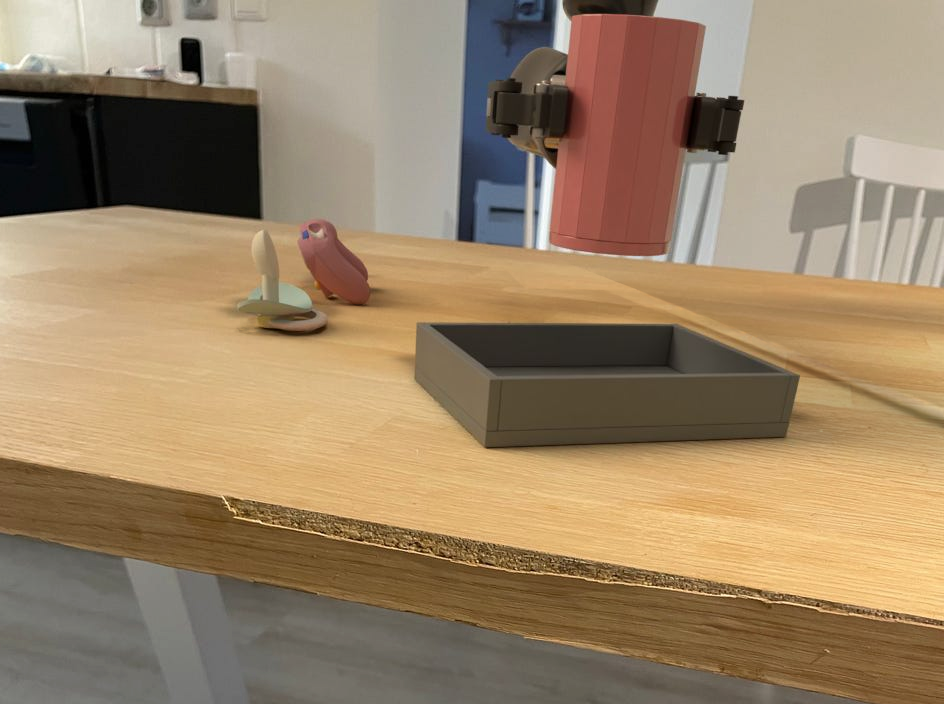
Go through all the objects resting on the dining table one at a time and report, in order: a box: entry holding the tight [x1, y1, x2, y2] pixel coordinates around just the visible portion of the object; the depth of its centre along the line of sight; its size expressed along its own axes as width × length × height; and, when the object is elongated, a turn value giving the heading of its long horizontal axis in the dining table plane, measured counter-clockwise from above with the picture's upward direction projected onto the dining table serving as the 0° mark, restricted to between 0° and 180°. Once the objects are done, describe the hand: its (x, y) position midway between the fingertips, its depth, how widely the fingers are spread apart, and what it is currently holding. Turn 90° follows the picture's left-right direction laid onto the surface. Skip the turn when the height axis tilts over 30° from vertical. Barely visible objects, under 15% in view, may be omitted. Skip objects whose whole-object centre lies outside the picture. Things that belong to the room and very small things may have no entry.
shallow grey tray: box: [413, 321, 801, 448], centre depth 53 cm, size 17×13×3 cm
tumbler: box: [548, 14, 707, 257], centre depth 47 cm, size 6×6×10 cm
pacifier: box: [236, 229, 329, 332], centre depth 66 cm, size 7×6×6 cm
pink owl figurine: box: [296, 218, 372, 305], centre depth 79 cm, size 10×5×7 cm, turn 6°
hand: (632, 117), depth 45 cm, fingers closed on tumbler, 6 cm apart
